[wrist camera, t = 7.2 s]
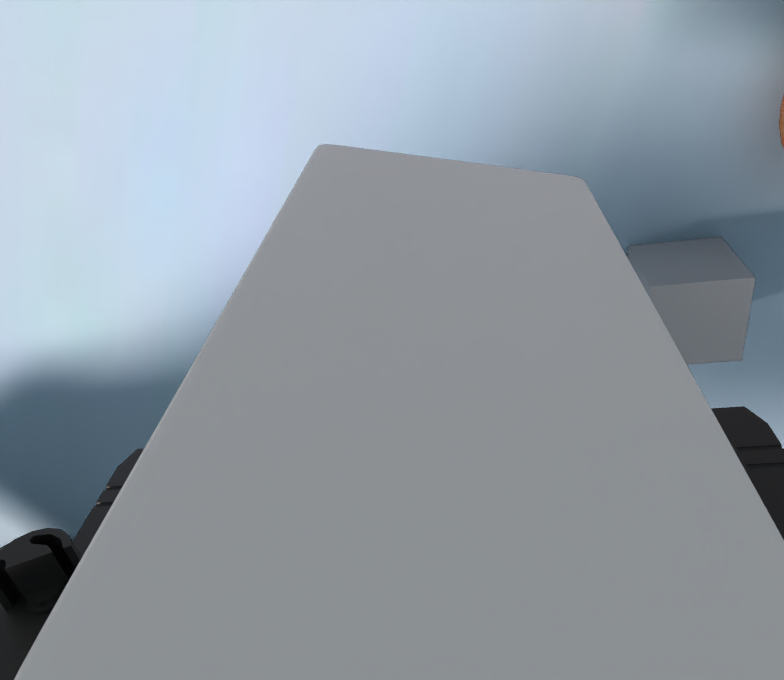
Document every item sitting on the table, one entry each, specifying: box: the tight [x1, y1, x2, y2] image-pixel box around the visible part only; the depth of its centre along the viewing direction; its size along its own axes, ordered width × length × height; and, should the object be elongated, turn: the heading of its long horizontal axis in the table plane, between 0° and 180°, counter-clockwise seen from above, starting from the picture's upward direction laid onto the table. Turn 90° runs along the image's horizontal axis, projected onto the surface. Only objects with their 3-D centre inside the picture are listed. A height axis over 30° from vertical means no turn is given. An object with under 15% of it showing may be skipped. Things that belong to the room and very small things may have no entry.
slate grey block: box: [628, 237, 756, 364], centre depth 36 cm, size 5×5×5 cm
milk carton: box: [14, 144, 784, 680], centre depth 11 cm, size 7×7×19 cm
